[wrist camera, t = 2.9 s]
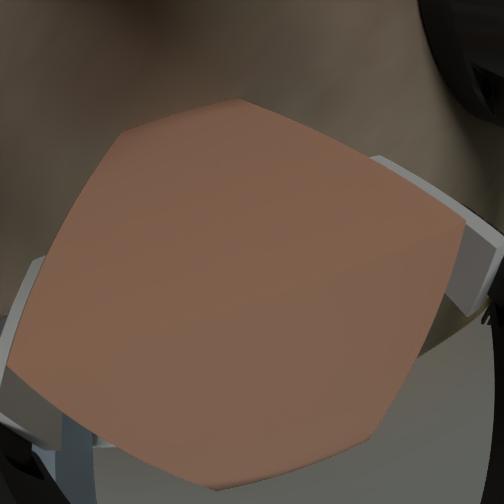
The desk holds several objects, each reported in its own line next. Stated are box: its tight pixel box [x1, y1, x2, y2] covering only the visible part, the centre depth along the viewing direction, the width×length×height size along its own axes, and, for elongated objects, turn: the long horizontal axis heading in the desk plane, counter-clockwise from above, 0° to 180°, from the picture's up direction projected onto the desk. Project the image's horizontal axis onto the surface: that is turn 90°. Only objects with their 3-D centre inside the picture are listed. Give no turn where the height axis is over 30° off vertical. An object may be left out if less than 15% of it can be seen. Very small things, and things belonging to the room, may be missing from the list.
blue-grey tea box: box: [32, 413, 97, 504], centre depth 14 cm, size 5×8×11 cm, turn 101°
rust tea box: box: [7, 98, 466, 491], centre depth 9 cm, size 5×8×11 cm, turn 11°
